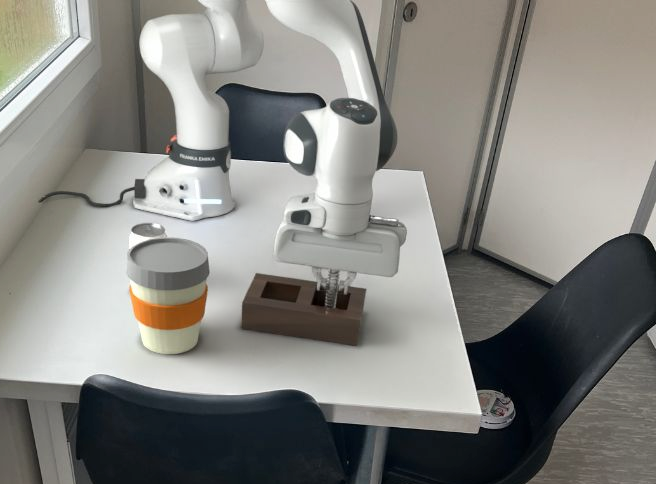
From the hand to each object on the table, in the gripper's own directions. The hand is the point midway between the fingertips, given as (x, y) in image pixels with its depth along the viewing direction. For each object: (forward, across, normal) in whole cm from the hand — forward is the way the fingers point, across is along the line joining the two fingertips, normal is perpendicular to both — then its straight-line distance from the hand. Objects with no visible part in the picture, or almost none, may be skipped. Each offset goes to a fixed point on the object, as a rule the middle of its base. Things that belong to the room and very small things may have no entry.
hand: (332, 291), depth 121 cm
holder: (+6, +4, 0) cm, 8 cm away
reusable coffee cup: (+7, +24, +12) cm, 28 cm away
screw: (+7, 0, 0) cm, 7 cm away
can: (+7, +32, -2) cm, 33 cm away
